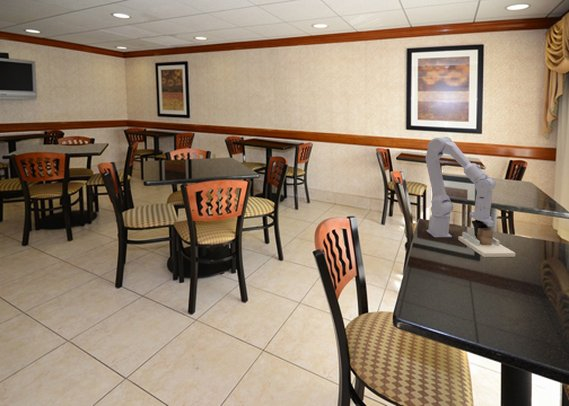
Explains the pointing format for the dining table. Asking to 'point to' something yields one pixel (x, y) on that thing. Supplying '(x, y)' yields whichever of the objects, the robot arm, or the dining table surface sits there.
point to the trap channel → (486, 247)
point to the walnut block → (485, 236)
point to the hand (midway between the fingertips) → (478, 237)
